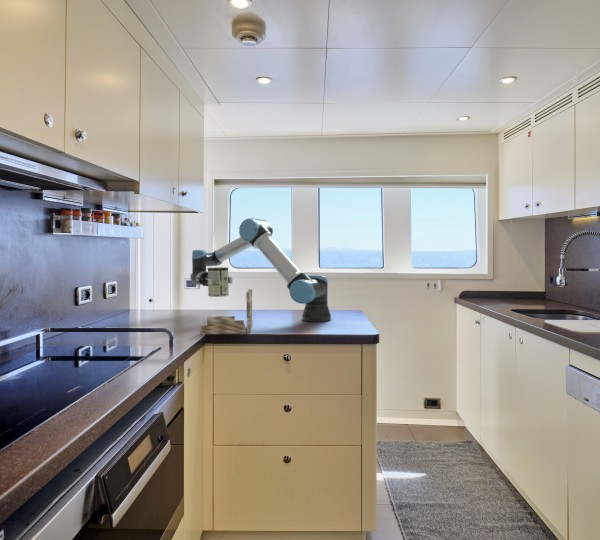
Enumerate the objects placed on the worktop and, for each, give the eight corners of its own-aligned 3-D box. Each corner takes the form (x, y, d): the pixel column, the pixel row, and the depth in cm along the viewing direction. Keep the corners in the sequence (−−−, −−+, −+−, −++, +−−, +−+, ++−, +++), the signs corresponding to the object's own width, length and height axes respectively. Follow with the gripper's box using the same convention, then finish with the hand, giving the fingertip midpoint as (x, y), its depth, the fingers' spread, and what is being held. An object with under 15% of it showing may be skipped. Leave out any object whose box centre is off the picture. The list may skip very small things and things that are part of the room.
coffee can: (211, 294, 214) (211, 267, 213) (231, 294, 213) (230, 267, 212) (205, 296, 204) (204, 268, 203) (225, 297, 203) (225, 268, 202)
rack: (252, 326, 199) (252, 289, 198) (250, 333, 183) (249, 292, 182) (206, 327, 198) (205, 290, 197) (200, 334, 182) (199, 293, 181)
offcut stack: (245, 329, 185) (244, 315, 185) (244, 329, 183) (244, 316, 183) (202, 329, 184) (201, 316, 184) (201, 330, 182) (201, 317, 182)
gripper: (225, 284, 229) (242, 287, 211) (185, 286, 217) (199, 290, 198) (225, 271, 229) (242, 273, 210) (184, 272, 217) (199, 274, 198)
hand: (221, 281), depth 204 cm, fingers closed on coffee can, 10 cm apart
